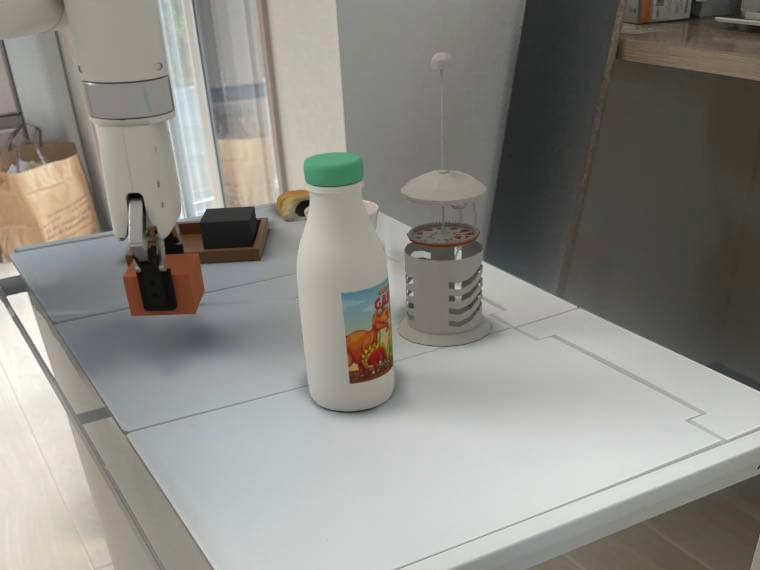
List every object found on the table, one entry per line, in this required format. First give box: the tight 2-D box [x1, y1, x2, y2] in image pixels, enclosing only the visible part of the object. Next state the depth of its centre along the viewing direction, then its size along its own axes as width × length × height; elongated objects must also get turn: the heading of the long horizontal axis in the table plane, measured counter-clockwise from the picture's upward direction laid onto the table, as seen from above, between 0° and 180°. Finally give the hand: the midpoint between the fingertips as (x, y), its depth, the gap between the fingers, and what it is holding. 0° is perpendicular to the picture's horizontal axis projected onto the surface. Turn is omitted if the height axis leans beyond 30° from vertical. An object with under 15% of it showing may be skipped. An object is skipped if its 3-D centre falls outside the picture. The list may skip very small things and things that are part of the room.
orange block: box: [122, 253, 206, 317], centre depth 85 cm, size 6×6×4 cm
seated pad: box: [199, 205, 258, 250], centre depth 110 cm, size 6×6×4 cm
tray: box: [124, 217, 270, 268], centre depth 110 cm, size 17×14×2 cm
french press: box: [397, 51, 492, 347], centre depth 81 cm, size 10×12×25 cm
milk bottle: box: [296, 151, 395, 412], centre depth 70 cm, size 8×8×20 cm
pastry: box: [275, 189, 310, 222], centre depth 122 cm, size 9×7×4 cm
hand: (167, 294), depth 85 cm, fingers closed on orange block, 6 cm apart
